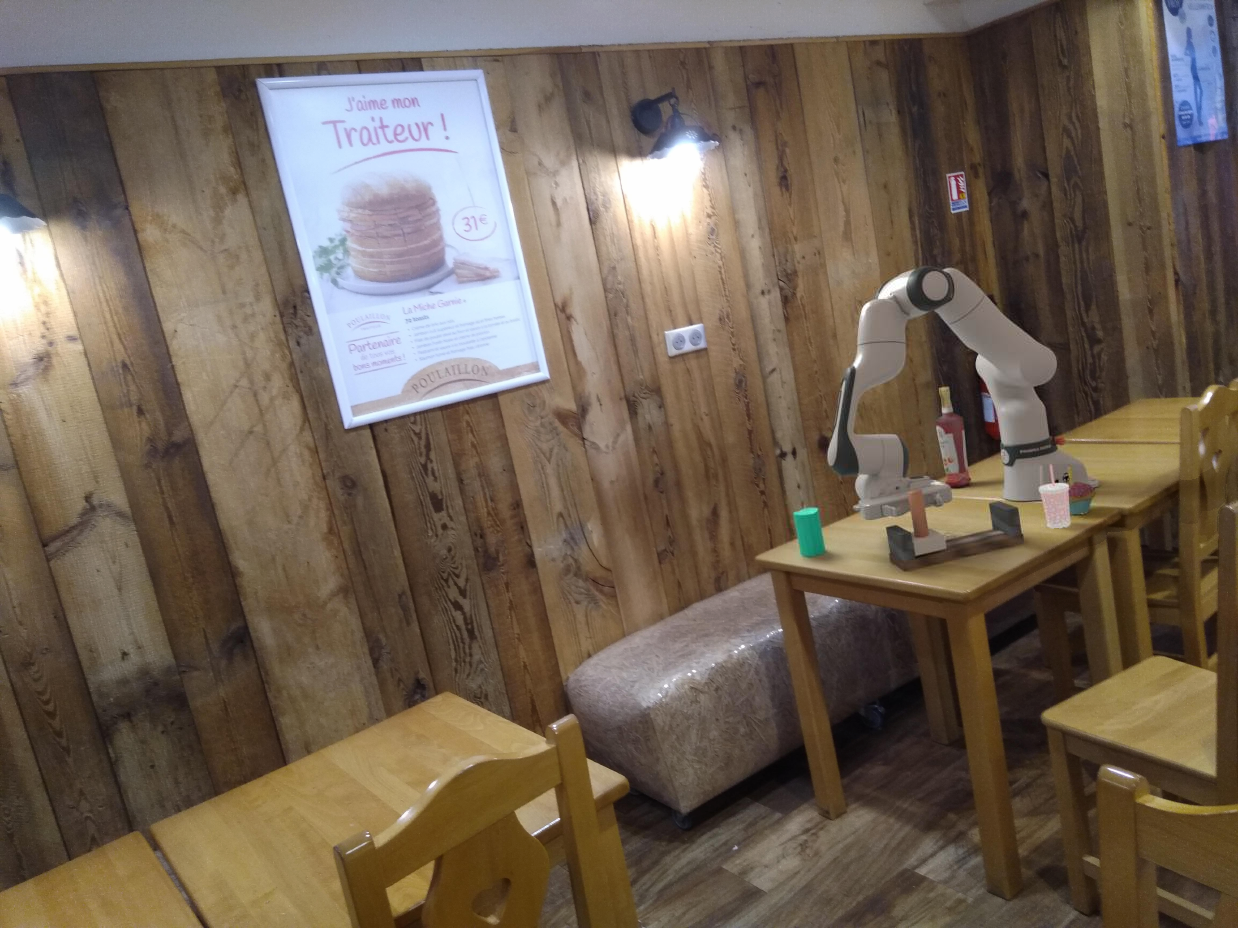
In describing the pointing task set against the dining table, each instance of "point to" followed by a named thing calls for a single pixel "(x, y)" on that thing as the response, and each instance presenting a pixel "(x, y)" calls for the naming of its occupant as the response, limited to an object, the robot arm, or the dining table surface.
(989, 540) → the rail
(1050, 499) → the beverage cup
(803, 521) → the candle
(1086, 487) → the cupcake
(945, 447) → the liquor
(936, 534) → the peach cylinder post
